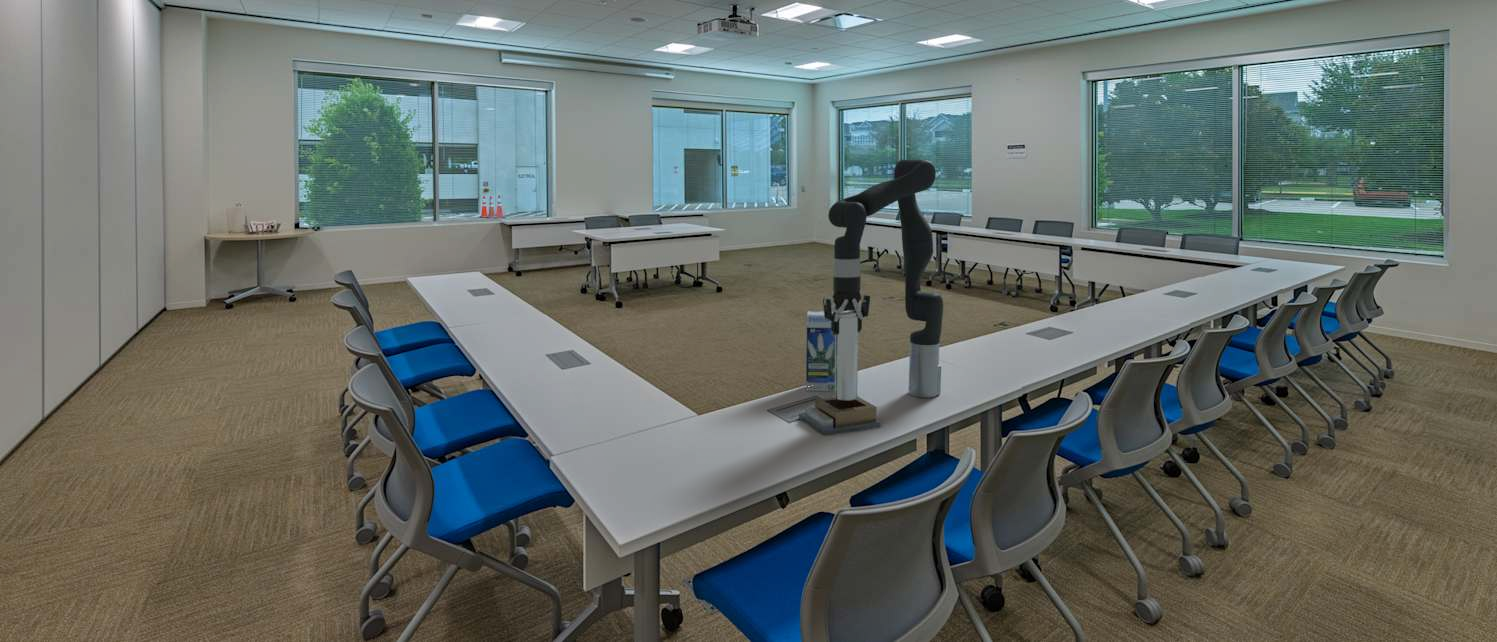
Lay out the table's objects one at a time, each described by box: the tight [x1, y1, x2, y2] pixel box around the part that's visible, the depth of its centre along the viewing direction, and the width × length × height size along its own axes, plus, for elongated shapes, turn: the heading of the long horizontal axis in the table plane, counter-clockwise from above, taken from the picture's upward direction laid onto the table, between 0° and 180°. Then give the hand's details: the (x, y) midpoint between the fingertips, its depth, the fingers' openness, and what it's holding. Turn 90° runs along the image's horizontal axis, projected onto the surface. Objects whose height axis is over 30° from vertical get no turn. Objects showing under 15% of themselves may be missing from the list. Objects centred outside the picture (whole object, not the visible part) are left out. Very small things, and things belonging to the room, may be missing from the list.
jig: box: [798, 395, 882, 436], centre depth 211 cm, size 18×16×6 cm
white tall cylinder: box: [834, 310, 859, 401], centre depth 209 cm, size 6×6×25 cm
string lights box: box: [805, 310, 835, 393], centre depth 243 cm, size 13×8×26 cm, turn 84°
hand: (846, 332), depth 207 cm, fingers closed on white tall cylinder, 6 cm apart
